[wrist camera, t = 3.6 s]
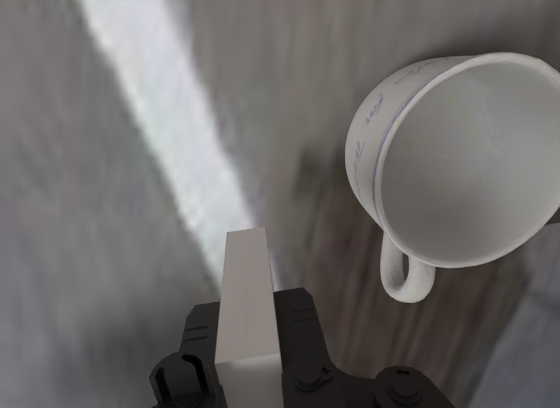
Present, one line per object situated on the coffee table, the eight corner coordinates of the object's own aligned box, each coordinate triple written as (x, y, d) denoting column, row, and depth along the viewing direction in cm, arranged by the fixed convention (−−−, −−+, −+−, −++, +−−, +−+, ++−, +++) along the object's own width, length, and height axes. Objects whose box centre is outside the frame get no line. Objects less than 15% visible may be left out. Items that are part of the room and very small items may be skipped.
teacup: (390, 20, 22) (468, 0, 14) (520, 104, 24) (642, 124, 17) (283, 214, 26) (300, 278, 18) (404, 267, 28) (462, 341, 21)
